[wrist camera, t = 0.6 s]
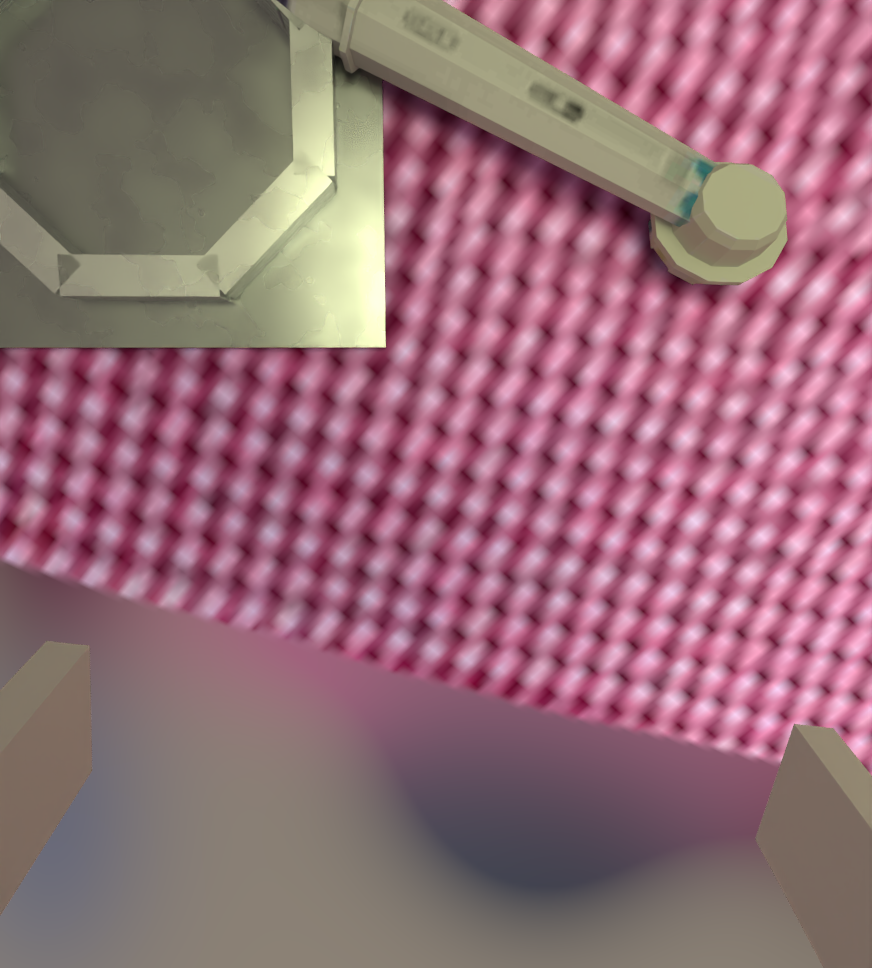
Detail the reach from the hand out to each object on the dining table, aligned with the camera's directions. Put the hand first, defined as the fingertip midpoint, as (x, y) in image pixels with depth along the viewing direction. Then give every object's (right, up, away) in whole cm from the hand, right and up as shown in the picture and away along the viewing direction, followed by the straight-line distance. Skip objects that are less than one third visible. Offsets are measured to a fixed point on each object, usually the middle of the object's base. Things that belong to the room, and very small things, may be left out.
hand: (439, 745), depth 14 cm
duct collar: (-14, +23, +22) cm, 34 cm away
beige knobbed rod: (+5, +22, +23) cm, 32 cm away
